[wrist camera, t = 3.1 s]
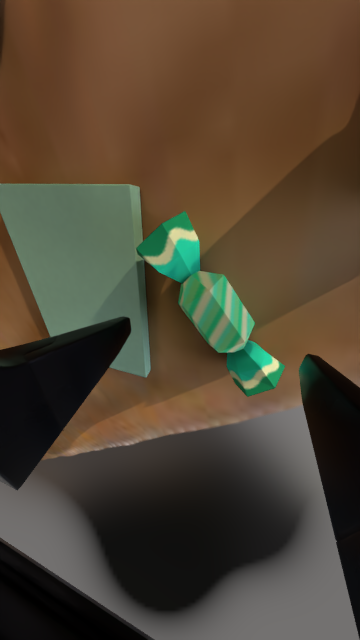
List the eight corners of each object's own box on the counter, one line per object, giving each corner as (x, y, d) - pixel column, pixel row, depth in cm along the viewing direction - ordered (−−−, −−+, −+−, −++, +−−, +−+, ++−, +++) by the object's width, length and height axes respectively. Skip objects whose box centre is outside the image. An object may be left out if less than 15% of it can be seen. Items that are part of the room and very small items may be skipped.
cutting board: (139, 186, 11) (129, 184, 10) (151, 369, 20) (146, 378, 19) (6, 185, 14) (-12, 183, 13) (64, 346, 22) (56, 352, 21)
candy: (138, 257, 13) (134, 242, 9) (176, 228, 13) (190, 200, 9) (228, 376, 15) (257, 407, 12) (259, 351, 16) (298, 373, 12)
